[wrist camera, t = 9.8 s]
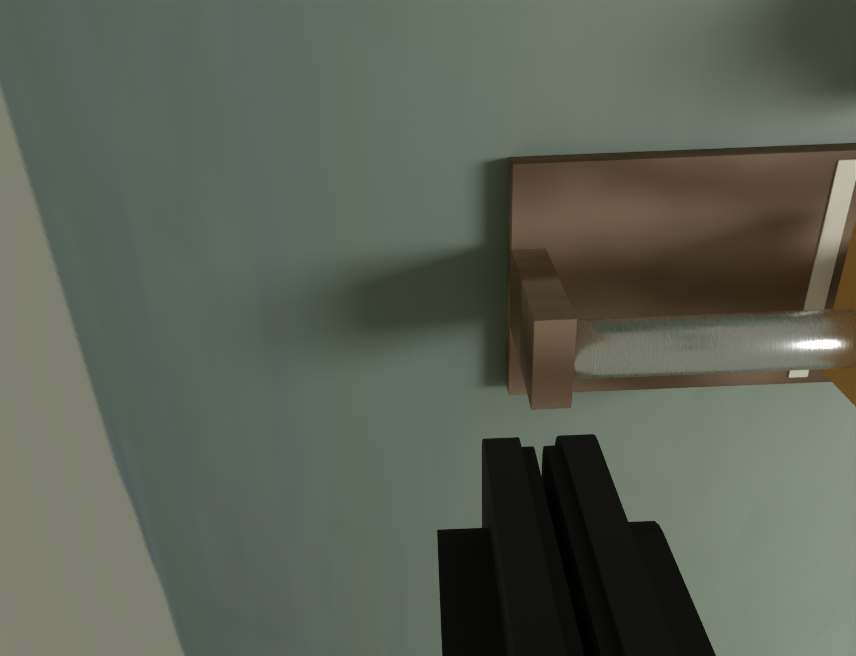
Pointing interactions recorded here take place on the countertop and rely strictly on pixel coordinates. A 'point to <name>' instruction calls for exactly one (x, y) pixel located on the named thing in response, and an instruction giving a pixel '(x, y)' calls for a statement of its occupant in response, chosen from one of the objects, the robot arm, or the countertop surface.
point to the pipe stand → (678, 269)
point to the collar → (850, 294)
